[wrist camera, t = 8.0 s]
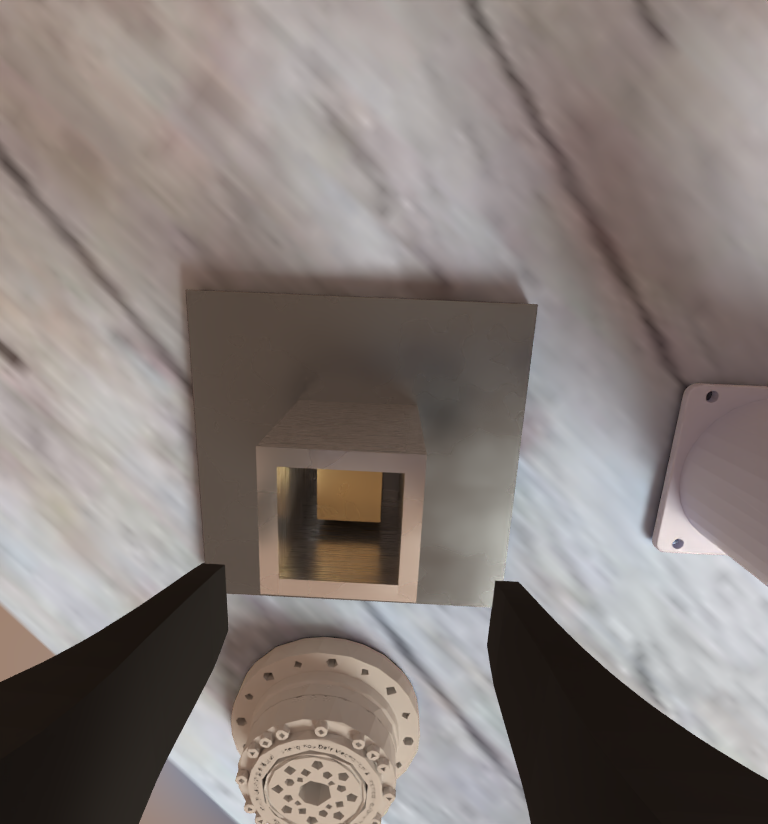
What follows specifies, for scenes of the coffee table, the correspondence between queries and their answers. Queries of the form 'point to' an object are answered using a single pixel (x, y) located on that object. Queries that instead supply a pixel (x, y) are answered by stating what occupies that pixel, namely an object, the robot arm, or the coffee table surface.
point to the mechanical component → (323, 733)
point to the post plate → (365, 383)
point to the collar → (334, 539)
